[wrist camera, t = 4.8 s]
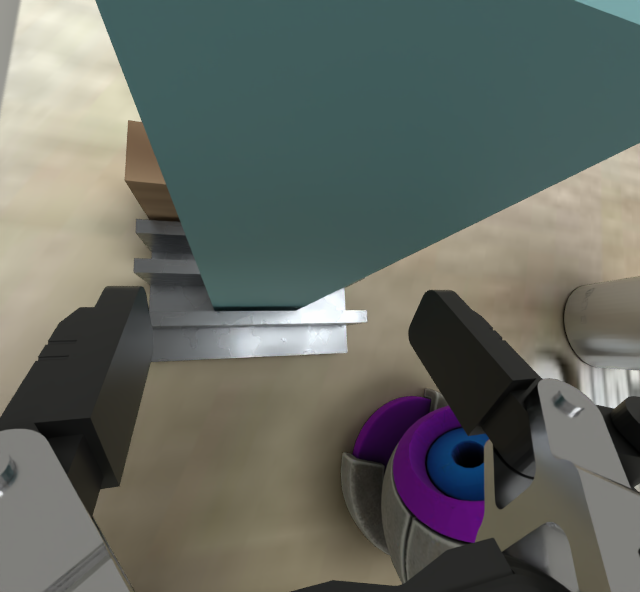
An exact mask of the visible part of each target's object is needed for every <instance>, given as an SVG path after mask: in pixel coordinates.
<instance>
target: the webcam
mask: <svg viewBox="0 0 640 592" xmlns="http://www.w3.org/2000/svg"><path fill="white" fill-rule="evenodd" d="M424 397H426V398H424ZM424 397H417V396H407V397H401V398H398V399H395V400H392V401H390V402H388V403H386V404H385V405H383V406H382V407H380V408H379V409H378V410H377V411H376V412H375V413H374V414H373V415H372V416H371V417H370V418H369V419H368V420H367V422H366V423H365V424H364V426H363V428H362V430H361V431H360V433H359V435H358V438H357V440H356V443H355V446H354V449H353V454H350V453H344V452H343V456H342V465H341V482H342V490H343V495H344V499H345V502H346V505H347V508H348V510H349V512H350V515H351V517H352V518H353V520H354V522H355V523H356V525H357V526H358V527H359V529H360V530H361V532H362V533H363V534H364V535H365V536H366V538H367V539H368V540H369V541H370V542H371V543H372V544H373V545H374V546H375V547H377V548H378V549H380V550H381V551H383V552H384V553H386V554H388V555H390V556H391V559H392V563H393V565H394V567H395V569H396V571H397V574H398V576H399V578H400V580H401V582H402V584H404V583H406V582H407V581H408V580H409V579H411V578H412V577H413V576H414V575H416V574H417V573H418V572H420V571H421V570H422V569H423V568H425V567H426V566H427V565H428V564H430V563H431V562H432V561H434V560H435V559H436V558H437V557H439V556H440V555H441V554H442V553H444V552H445V551H446V550H448V549H452V548H456V547H459V546H463V545H467V544H471V543H474V542H475V540H476V536H477V533H478V530H479V528H480V526H481V524H482V521H483V518H484V512H485V494H484V446H485V443H486V442H487V440H488V439H489V438H488V436H487V435H486V434H479V435H472V436H468V435H467V434H466V432H465V430H464V429H463V427H462V426H461V424H460V423H459V421H458V419H457V418H456V416H455V415H454V413H453V411H452V410H451V408H450V407H449V405H448V403H447V402H446V400H445V399H444V397H443V395H442V394H441V393H440V392H437V391H434V390H432V389H427V388H426V389H425V394H424ZM427 398H428V399H427ZM575 592H579V590H578V591H575Z"/></svg>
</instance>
